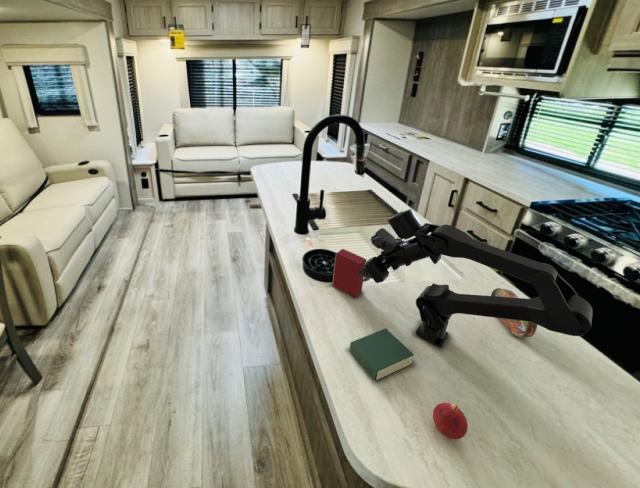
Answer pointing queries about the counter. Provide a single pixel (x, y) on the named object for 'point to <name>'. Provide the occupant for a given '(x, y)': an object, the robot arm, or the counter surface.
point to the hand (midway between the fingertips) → (366, 267)
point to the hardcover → (381, 353)
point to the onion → (450, 420)
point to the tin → (515, 326)
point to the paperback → (348, 272)
